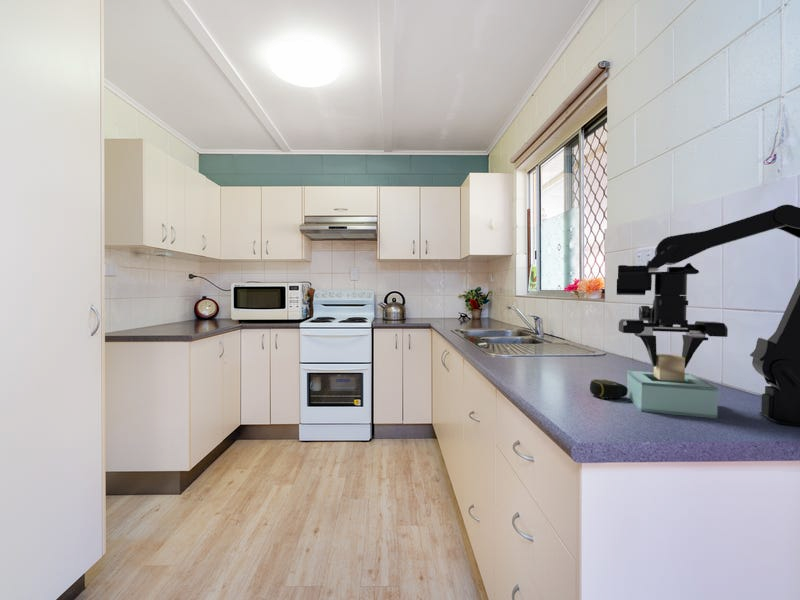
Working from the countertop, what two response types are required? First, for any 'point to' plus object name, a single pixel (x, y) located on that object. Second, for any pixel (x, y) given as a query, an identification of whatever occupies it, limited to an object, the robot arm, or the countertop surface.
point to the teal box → (672, 395)
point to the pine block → (670, 367)
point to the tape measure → (607, 389)
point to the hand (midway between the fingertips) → (668, 367)
